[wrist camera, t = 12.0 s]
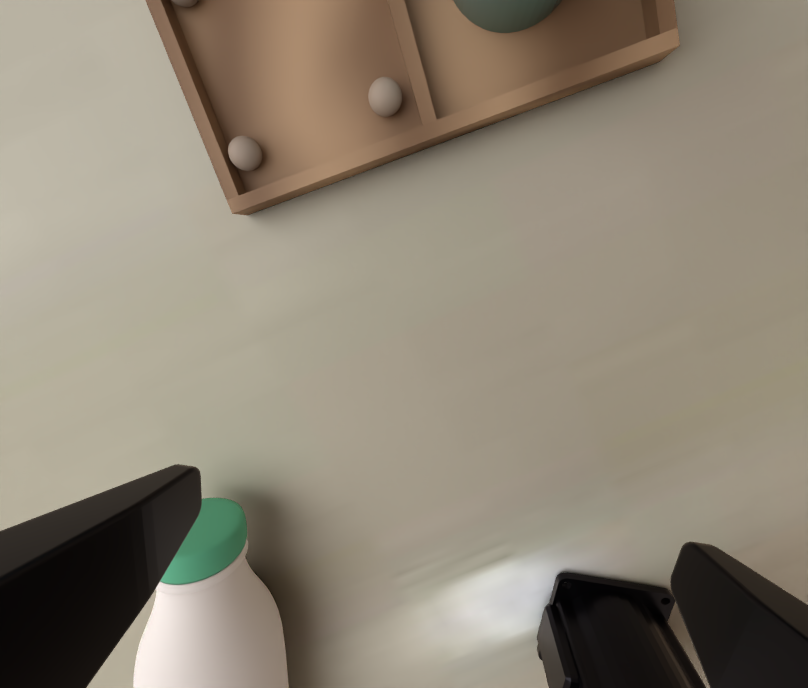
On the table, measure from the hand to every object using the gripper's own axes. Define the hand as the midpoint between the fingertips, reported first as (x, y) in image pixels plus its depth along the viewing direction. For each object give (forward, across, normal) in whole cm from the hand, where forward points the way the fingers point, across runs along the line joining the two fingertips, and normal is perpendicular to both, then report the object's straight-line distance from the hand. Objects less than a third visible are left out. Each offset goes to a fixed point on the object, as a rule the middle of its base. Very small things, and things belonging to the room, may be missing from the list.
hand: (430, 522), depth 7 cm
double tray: (+13, +4, -14) cm, 19 cm away
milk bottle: (+9, +9, +30) cm, 33 cm away
